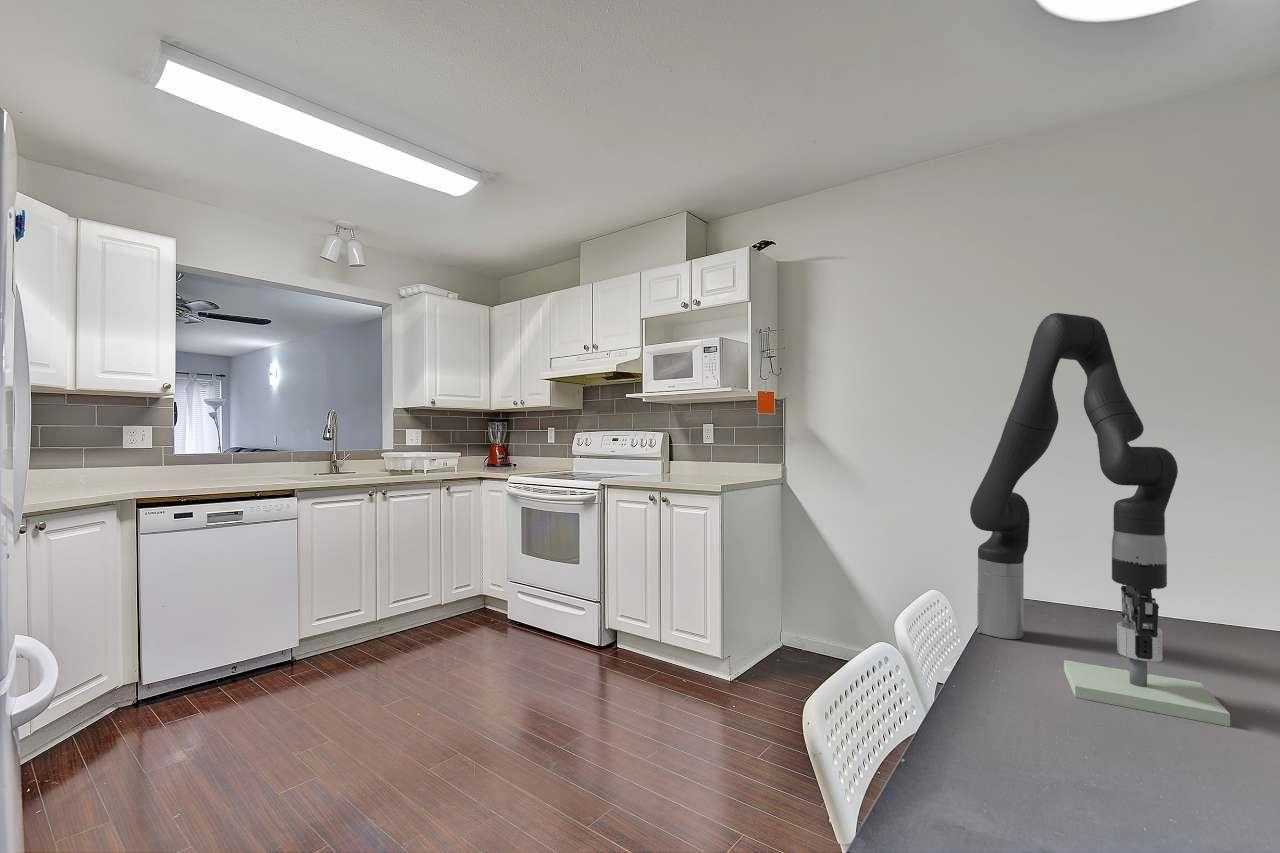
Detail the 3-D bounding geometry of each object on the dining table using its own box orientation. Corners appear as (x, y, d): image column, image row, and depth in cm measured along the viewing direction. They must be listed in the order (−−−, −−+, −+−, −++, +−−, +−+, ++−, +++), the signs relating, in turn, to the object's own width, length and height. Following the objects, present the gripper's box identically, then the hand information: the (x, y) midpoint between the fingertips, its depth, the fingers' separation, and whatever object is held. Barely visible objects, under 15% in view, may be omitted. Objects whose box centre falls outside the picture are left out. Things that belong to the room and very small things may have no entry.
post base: (1075, 697, 103) (1075, 657, 103) (1064, 670, 115) (1064, 634, 115) (1230, 726, 93) (1230, 682, 93) (1199, 693, 105) (1199, 654, 106)
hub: (1121, 657, 103) (1121, 628, 103) (1114, 646, 108) (1114, 619, 109) (1166, 664, 100) (1166, 634, 100) (1156, 653, 105) (1156, 625, 106)
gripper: (1104, 549, 113) (1104, 636, 112) (1121, 562, 100) (1121, 661, 100) (1154, 553, 109) (1154, 644, 109) (1179, 567, 97) (1179, 670, 96)
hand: (1138, 651), depth 104 cm, fingers closed on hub, 6 cm apart
